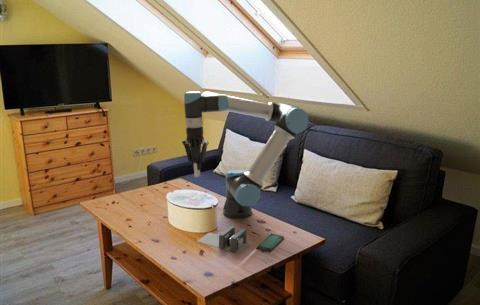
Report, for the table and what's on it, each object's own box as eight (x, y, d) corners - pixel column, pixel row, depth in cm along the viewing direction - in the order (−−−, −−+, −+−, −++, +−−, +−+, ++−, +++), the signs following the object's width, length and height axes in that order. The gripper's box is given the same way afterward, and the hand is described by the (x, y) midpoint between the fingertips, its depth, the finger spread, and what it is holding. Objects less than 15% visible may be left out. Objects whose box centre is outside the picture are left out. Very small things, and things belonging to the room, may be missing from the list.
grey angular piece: (209, 233, 185) (208, 220, 183) (250, 244, 174) (250, 230, 172) (196, 242, 176) (196, 228, 175) (239, 254, 166) (239, 239, 164)
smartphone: (255, 246, 171) (270, 232, 183) (255, 249, 171) (270, 235, 184) (270, 250, 167) (284, 236, 180) (270, 253, 168) (284, 238, 180)
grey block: (218, 243, 174) (218, 235, 173) (223, 240, 177) (223, 231, 176) (238, 249, 169) (238, 240, 168) (243, 245, 172) (243, 236, 171)
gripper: (177, 127, 177) (181, 176, 183) (202, 128, 171) (205, 180, 177) (186, 123, 183) (189, 172, 189) (211, 125, 178) (213, 175, 184)
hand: (197, 176), depth 183 cm, fingers closed
